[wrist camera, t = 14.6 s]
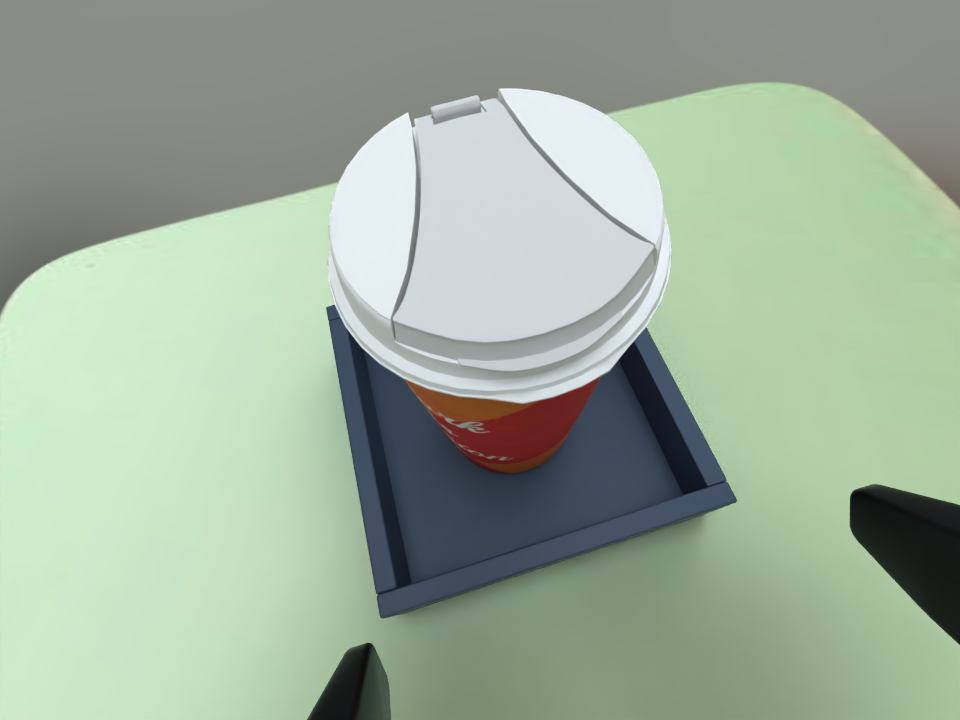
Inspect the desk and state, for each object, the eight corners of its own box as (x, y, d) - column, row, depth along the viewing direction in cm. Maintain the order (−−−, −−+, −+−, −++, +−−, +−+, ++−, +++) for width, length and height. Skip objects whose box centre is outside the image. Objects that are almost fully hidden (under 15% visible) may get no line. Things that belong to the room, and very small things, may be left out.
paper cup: (412, 367, 24) (286, 121, 11) (558, 325, 24) (600, 40, 11) (450, 524, 20) (332, 434, 8) (618, 473, 21) (776, 306, 8)
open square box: (705, 514, 20) (738, 501, 17) (402, 613, 20) (380, 619, 16) (585, 271, 26) (594, 228, 23) (349, 341, 25) (325, 306, 22)
